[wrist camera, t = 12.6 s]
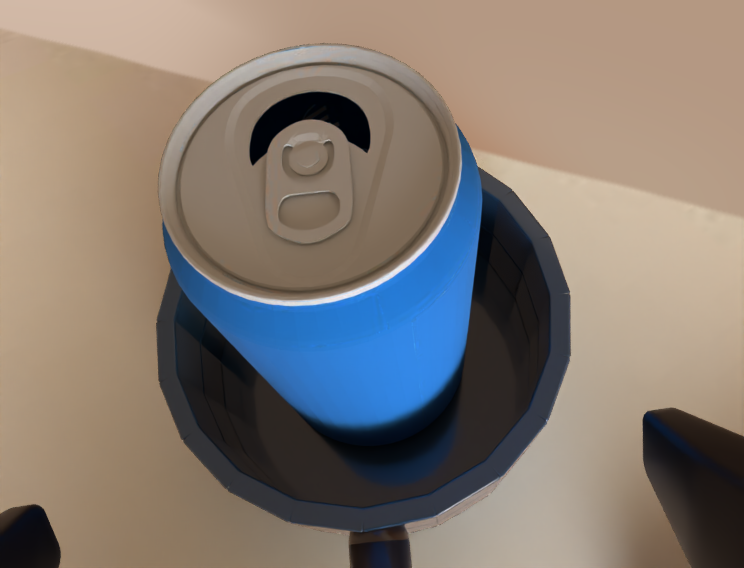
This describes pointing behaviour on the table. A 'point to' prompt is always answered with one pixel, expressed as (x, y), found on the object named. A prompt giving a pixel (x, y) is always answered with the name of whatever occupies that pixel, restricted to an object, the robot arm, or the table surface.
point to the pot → (402, 458)
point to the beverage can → (329, 233)
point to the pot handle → (380, 548)
